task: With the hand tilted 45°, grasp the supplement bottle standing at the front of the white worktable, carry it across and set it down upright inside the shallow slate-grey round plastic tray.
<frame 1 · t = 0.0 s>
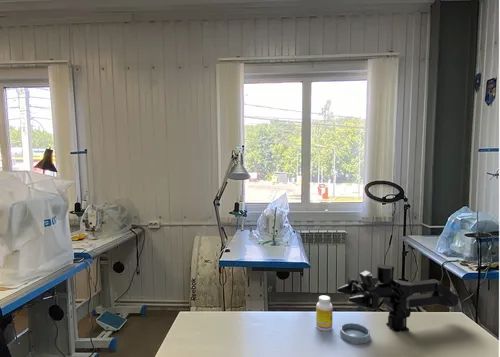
hand: (342, 294, 131), 17 cm above the table, tool horizontal, fingers open, 9 cm apart
round tray: (354, 335, 131), on the table
supplement bottle: (324, 327, 138), on the table
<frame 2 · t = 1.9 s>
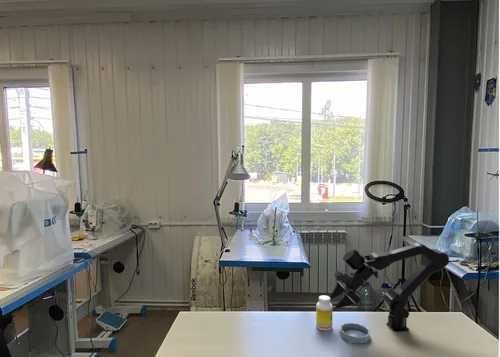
hand: (333, 302, 137), 11 cm above the table, tool tilted 45°, fingers open, 9 cm apart
nothing on the table moved.
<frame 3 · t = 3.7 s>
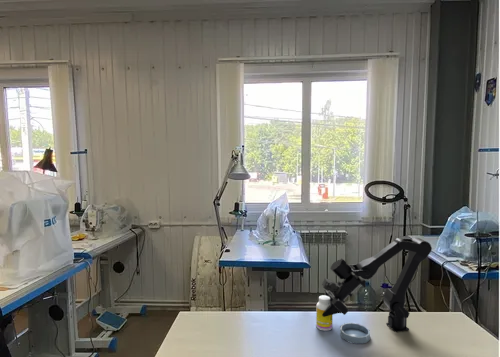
hand: (321, 311, 137), 7 cm above the table, tool tilted 45°, fingers closed on supplement bottle, 7 cm apart
supplement bottle: (324, 327, 138), on the table, touching gripper
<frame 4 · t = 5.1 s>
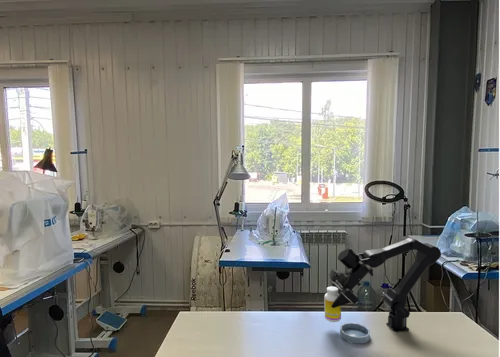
hand: (329, 303, 135), 11 cm above the table, tool tilted 45°, fingers closed on supplement bottle, 7 cm apart
supplement bottle: (332, 319, 135), point 5 cm above the table, touching gripper
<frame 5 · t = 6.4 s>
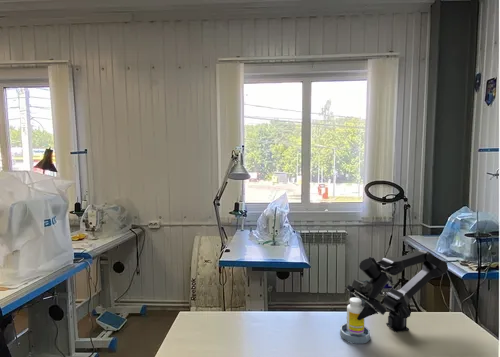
hand: (352, 315, 130), 9 cm above the table, tool tilted 45°, fingers closed on supplement bottle, 7 cm apart
supplement bottle: (355, 331, 131), point 2 cm above the table, touching gripper
when the fingers open (8 cm above the table, at t = 7.0 s): supplement bottle drops 1 cm, resting on round tray.
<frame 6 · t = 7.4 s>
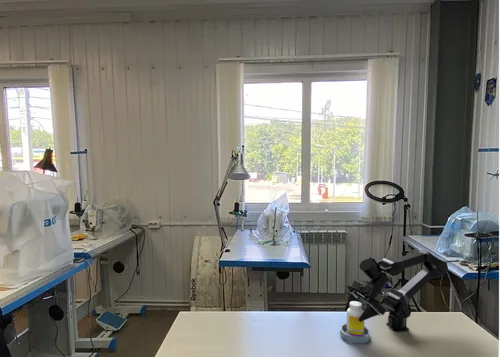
hand: (352, 315, 130), 9 cm above the table, tool tilted 45°, fingers open, 9 cm apart
supplement bottle: (355, 335, 131), resting on round tray
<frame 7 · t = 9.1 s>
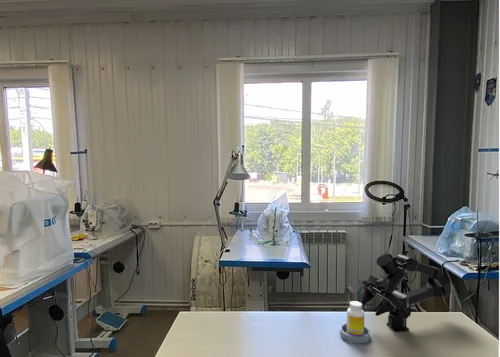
hand: (368, 310, 133), 10 cm above the table, tool tilted 45°, fingers open, 9 cm apart
nothing on the table moved.
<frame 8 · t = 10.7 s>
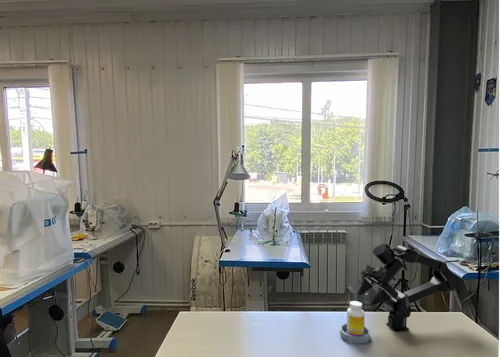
hand: (365, 299, 133), 14 cm above the table, tool tilted 45°, fingers open, 9 cm apart
nothing on the table moved.
at the end: supplement bottle 0.2 cm off-centre on the round tray, point 0.3 cm above the round tray's base; supplement bottle tilted 0°; the gripper is holding nothing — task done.
